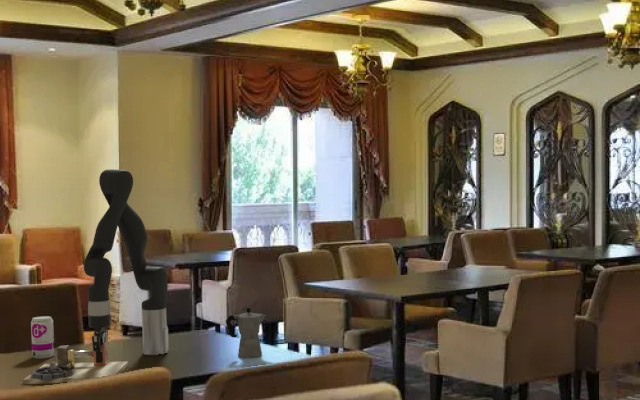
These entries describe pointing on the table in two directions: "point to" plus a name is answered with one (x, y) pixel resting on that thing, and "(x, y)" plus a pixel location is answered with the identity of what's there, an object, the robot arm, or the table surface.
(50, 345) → the supplement can
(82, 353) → the copper cube on rod
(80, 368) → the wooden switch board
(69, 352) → the handwheel
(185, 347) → the table surface
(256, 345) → the coffeepot
